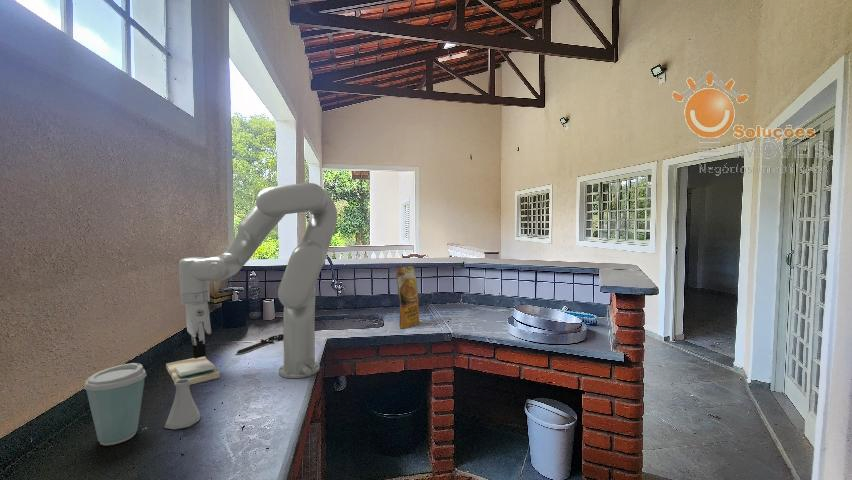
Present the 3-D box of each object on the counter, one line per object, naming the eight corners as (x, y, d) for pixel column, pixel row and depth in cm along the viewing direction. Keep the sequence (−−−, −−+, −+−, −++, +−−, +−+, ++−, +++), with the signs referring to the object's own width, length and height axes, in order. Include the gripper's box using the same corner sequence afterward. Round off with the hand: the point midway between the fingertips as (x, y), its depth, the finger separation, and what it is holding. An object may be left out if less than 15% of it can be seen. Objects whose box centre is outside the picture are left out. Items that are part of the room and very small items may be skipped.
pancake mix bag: (390, 328, 173) (391, 267, 172) (412, 319, 189) (413, 264, 188) (403, 330, 169) (403, 268, 168) (424, 321, 186) (424, 265, 185)
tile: (207, 360, 123) (207, 363, 123) (174, 366, 117) (174, 370, 117) (214, 365, 116) (214, 369, 116) (180, 372, 110) (180, 377, 110)
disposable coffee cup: (96, 458, 76) (94, 384, 75) (77, 441, 81) (75, 372, 81) (156, 433, 85) (155, 367, 84) (135, 420, 90) (134, 358, 90)
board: (219, 377, 116) (219, 372, 116) (177, 387, 108) (177, 382, 108) (204, 360, 130) (204, 355, 130) (166, 368, 123) (166, 363, 123)
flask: (175, 415, 93) (175, 375, 92) (206, 414, 93) (206, 374, 93) (157, 431, 86) (156, 388, 85) (191, 430, 86) (190, 387, 86)
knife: (237, 357, 135) (237, 353, 135) (225, 354, 137) (225, 350, 137) (291, 338, 157) (291, 335, 157) (280, 336, 160) (280, 333, 160)
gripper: (215, 298, 112) (219, 359, 113) (203, 293, 123) (207, 348, 124) (186, 303, 107) (190, 366, 107) (176, 296, 118) (180, 354, 119)
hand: (199, 356), depth 116 cm, fingers closed
